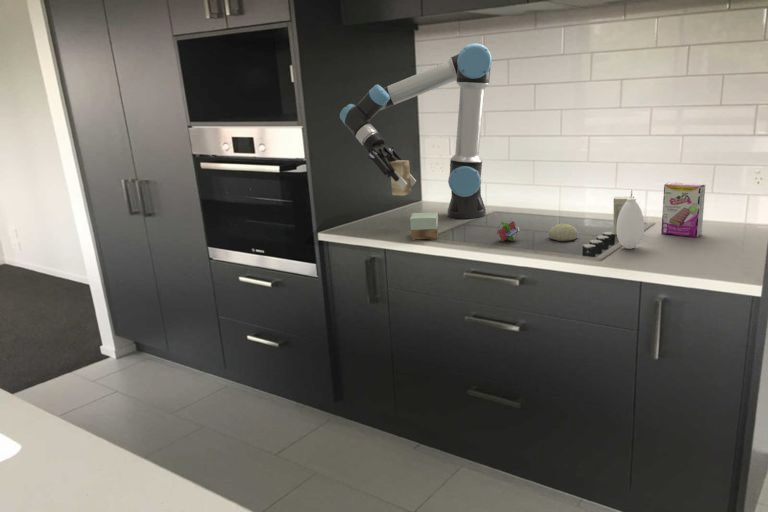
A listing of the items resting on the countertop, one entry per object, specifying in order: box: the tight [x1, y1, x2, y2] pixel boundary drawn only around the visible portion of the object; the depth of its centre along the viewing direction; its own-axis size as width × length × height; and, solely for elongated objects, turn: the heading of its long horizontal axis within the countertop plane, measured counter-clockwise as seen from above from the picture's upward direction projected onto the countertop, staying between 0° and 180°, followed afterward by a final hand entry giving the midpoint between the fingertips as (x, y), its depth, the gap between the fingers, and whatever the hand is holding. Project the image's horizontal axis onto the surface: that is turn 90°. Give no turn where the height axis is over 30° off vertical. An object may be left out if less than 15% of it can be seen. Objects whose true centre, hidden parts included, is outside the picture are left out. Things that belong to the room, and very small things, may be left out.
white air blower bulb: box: [616, 189, 645, 250], centre depth 188 cm, size 8×8×18 cm
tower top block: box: [409, 211, 439, 231], centre depth 220 cm, size 9×9×4 cm
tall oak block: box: [389, 159, 412, 197], centre depth 228 cm, size 5×5×12 cm
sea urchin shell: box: [548, 223, 578, 242], centre depth 206 cm, size 9×8×8 cm
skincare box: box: [613, 196, 635, 236], centre depth 206 cm, size 6×4×12 cm
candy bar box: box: [660, 181, 706, 238], centre depth 199 cm, size 11×5×16 cm, turn 47°
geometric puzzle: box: [496, 220, 521, 243], centre depth 208 cm, size 7×7×8 cm
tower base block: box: [410, 226, 439, 240], centre depth 221 cm, size 9×9×4 cm
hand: (409, 184), depth 226 cm, fingers closed on tall oak block, 5 cm apart
